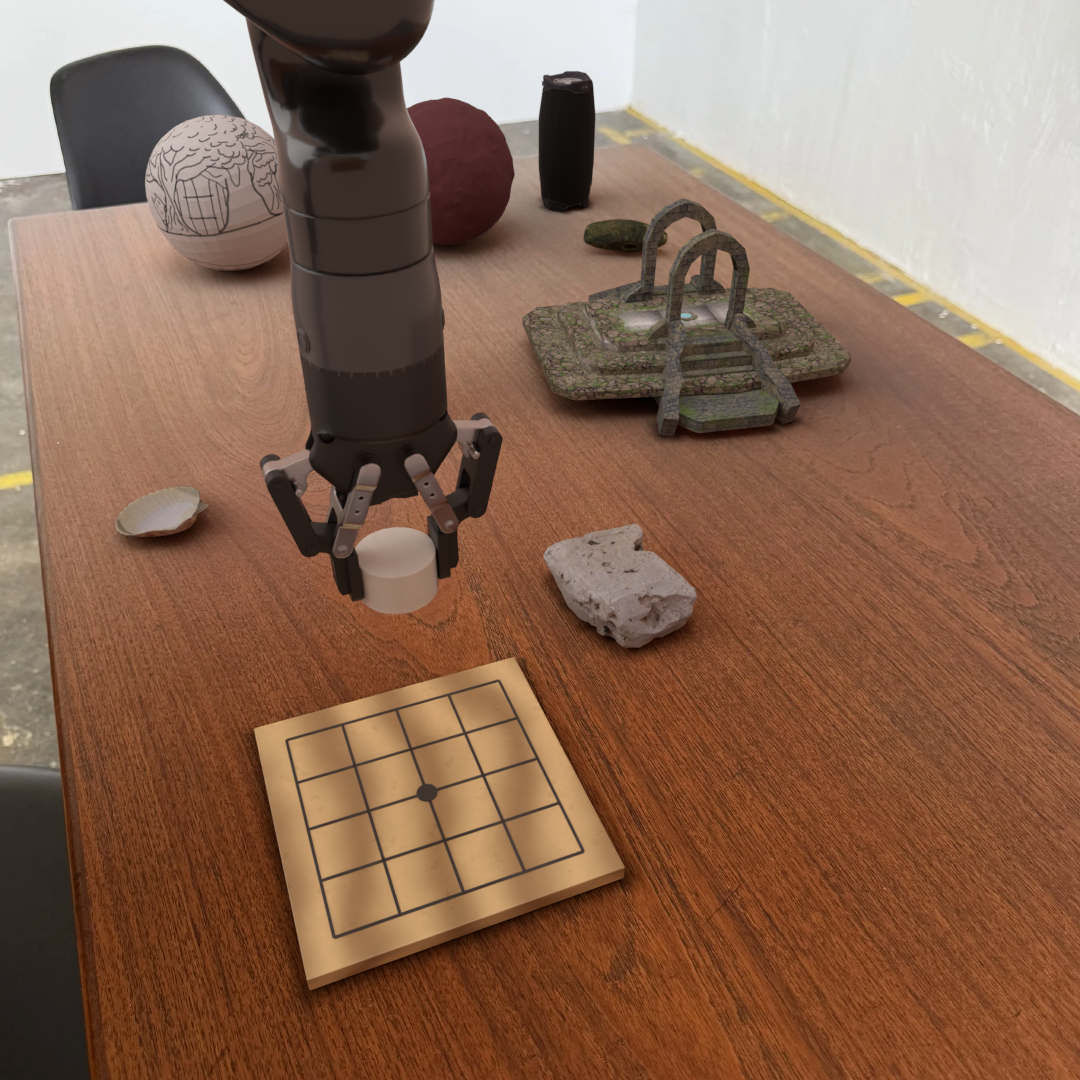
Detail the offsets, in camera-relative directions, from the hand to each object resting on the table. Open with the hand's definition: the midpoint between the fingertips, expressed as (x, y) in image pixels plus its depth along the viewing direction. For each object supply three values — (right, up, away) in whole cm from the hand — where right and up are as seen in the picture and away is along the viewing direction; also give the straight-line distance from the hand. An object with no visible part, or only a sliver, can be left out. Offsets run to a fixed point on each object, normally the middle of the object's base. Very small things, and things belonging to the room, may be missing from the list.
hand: (397, 580), depth 61 cm
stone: (+16, -3, +22) cm, 27 cm away
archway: (+26, +23, +55) cm, 65 cm away
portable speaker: (+13, +58, +100) cm, 116 cm away
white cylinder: (0, 0, 0) cm, 1 cm away
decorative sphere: (-5, +48, +86) cm, 99 cm away
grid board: (+1, -15, +5) cm, 16 cm away
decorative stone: (+22, +45, +83) cm, 97 cm away
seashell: (-26, +4, +30) cm, 40 cm away
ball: (-34, +42, +79) cm, 96 cm away
